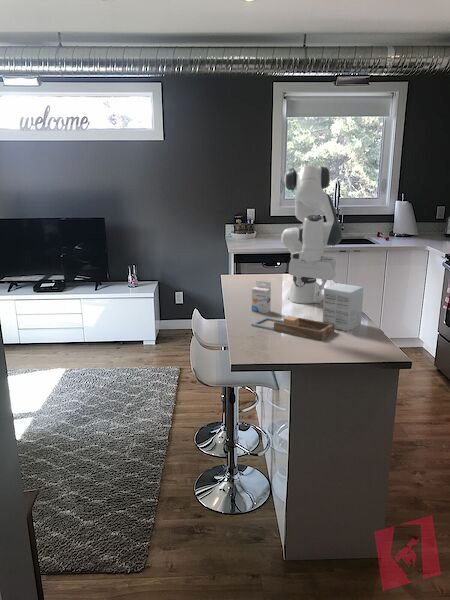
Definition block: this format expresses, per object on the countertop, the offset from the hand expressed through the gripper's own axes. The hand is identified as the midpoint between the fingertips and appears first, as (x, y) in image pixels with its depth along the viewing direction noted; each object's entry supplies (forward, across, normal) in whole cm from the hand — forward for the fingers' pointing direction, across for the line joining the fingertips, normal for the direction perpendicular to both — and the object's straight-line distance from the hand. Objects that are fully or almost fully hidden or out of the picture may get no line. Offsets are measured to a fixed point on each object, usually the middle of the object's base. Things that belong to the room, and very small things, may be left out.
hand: (311, 287), depth 203 cm
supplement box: (+20, -7, -18) cm, 28 cm away
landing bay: (+20, +20, 0) cm, 28 cm away
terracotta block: (+20, +9, 0) cm, 22 cm away
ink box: (+20, +35, -16) cm, 43 cm away
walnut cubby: (+20, +3, 0) cm, 20 cm away
